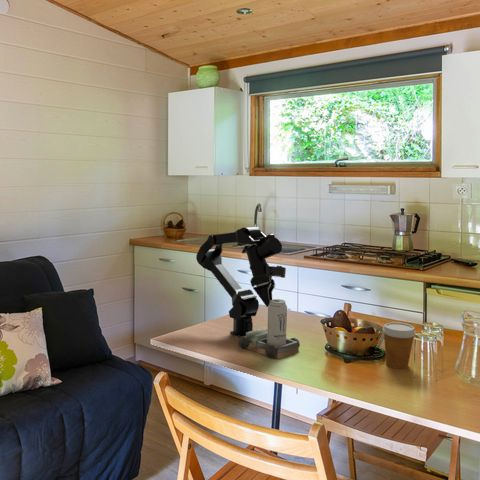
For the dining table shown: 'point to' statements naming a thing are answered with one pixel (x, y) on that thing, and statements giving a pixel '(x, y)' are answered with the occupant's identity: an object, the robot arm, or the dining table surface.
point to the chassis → (258, 343)
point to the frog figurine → (381, 340)
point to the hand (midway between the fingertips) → (269, 307)
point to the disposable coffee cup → (398, 344)
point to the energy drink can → (277, 323)
